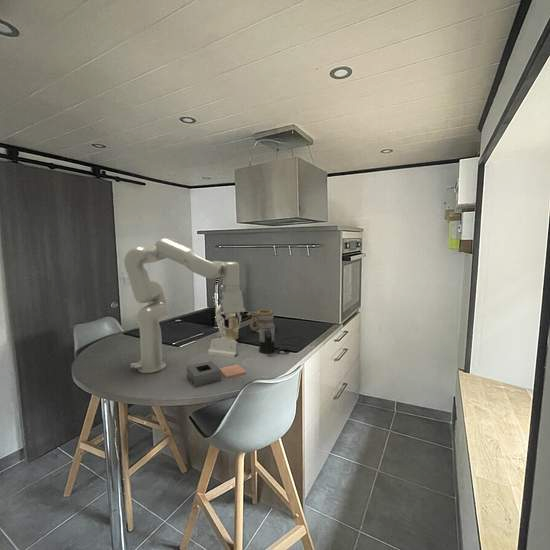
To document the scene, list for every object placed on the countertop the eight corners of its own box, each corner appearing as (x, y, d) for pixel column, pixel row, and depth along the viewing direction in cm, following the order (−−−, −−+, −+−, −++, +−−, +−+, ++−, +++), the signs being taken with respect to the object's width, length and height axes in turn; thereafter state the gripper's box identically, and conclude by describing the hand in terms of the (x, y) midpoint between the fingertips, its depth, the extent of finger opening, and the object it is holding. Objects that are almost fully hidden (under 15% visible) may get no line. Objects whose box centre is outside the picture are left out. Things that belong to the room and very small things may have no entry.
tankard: (268, 327, 219) (268, 307, 218) (277, 332, 208) (277, 310, 207) (243, 331, 210) (243, 310, 208) (250, 336, 199) (250, 314, 197)
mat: (226, 378, 138) (226, 376, 138) (218, 370, 147) (218, 368, 147) (246, 373, 144) (246, 371, 144) (237, 365, 152) (237, 364, 152)
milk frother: (256, 349, 176) (256, 324, 174) (280, 345, 183) (280, 321, 181) (266, 357, 163) (266, 331, 161) (291, 353, 170) (292, 327, 168)
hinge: (207, 354, 167) (209, 335, 169) (211, 354, 172) (213, 336, 174) (234, 357, 162) (237, 339, 165) (238, 357, 167) (240, 339, 169)
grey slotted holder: (194, 387, 130) (194, 376, 129) (187, 376, 140) (186, 366, 139) (221, 380, 136) (221, 370, 135) (211, 370, 146) (211, 361, 146)
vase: (211, 343, 185) (210, 286, 181) (223, 335, 201) (222, 283, 197) (234, 346, 180) (234, 288, 176) (245, 337, 196) (245, 284, 192)
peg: (229, 340, 140) (229, 319, 139) (225, 337, 144) (225, 317, 143) (238, 338, 143) (237, 317, 141) (234, 336, 146) (234, 315, 145)
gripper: (217, 291, 133) (217, 331, 135) (251, 288, 142) (251, 325, 144) (211, 288, 139) (211, 327, 141) (244, 285, 148) (244, 322, 150)
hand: (231, 326), depth 143 cm, fingers closed on peg, 4 cm apart
